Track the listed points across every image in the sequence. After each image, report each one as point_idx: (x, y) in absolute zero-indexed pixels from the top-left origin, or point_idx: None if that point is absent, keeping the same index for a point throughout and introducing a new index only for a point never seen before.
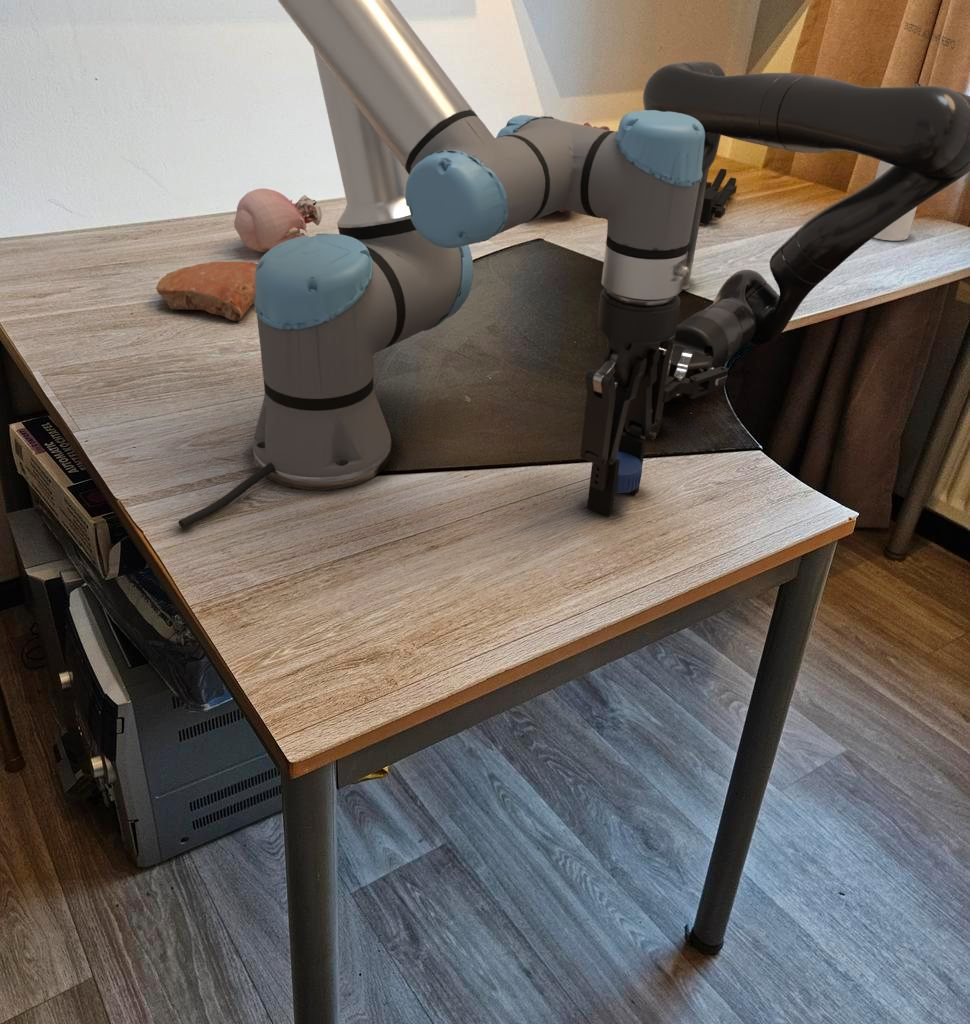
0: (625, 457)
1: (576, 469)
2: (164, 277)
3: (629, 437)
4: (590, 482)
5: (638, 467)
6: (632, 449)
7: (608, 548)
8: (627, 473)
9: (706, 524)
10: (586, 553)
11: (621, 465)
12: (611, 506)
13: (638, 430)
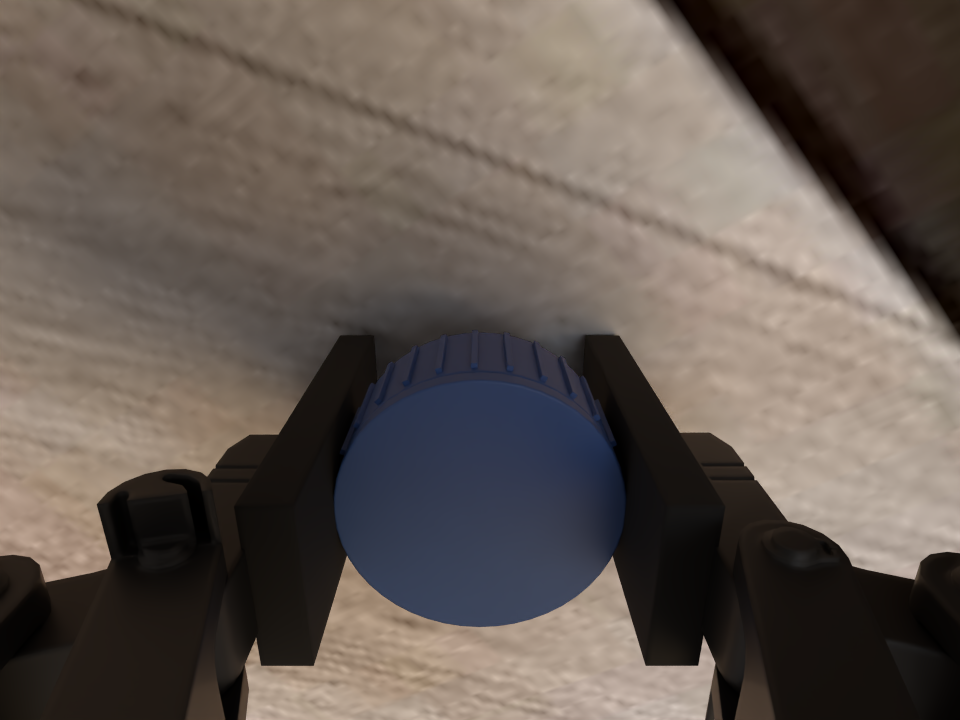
0: (567, 512)
1: (629, 86)
2: None
3: (661, 574)
4: (228, 450)
5: (510, 611)
6: (634, 548)
7: None
8: (406, 599)
9: (567, 691)
10: (84, 489)
11: (463, 537)
12: None
13: (724, 656)
